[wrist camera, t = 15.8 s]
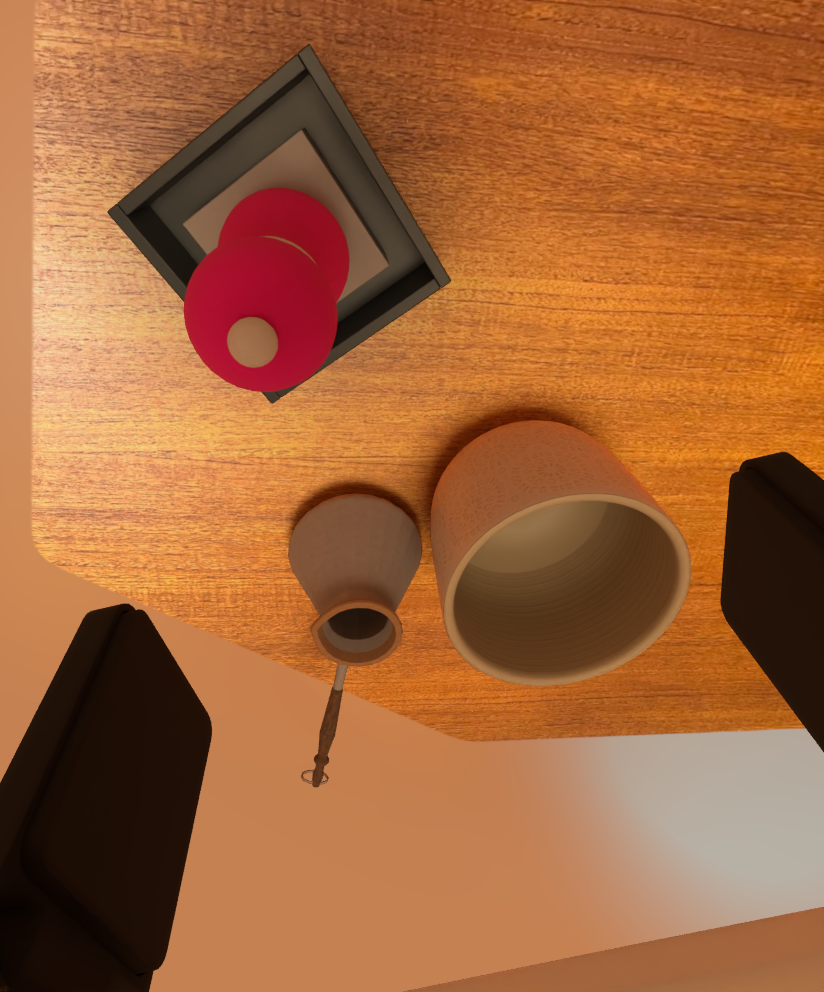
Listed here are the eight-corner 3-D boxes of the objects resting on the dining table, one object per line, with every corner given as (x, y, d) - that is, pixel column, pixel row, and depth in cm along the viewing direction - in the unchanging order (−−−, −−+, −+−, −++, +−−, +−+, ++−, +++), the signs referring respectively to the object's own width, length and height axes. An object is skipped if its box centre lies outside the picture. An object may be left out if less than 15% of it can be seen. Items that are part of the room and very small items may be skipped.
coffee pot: (304, 466, 52) (292, 581, 39) (435, 493, 55) (463, 609, 42) (262, 648, 62) (241, 786, 50) (373, 663, 65) (381, 798, 52)
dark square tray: (313, 51, 37) (309, 43, 33) (440, 263, 44) (451, 281, 40) (133, 200, 41) (106, 212, 36) (278, 375, 48) (271, 404, 43)
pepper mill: (314, 158, 36) (290, 199, 19) (368, 275, 40) (387, 396, 23) (206, 213, 37) (93, 298, 20) (268, 322, 41) (216, 472, 24)
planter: (433, 387, 49) (466, 485, 36) (634, 403, 52) (731, 500, 39) (408, 558, 58) (427, 686, 45) (581, 565, 61) (646, 688, 48)
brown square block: (304, 127, 39) (301, 128, 35) (386, 253, 43) (389, 265, 40) (195, 214, 41) (182, 224, 37) (283, 326, 45) (278, 344, 42)
